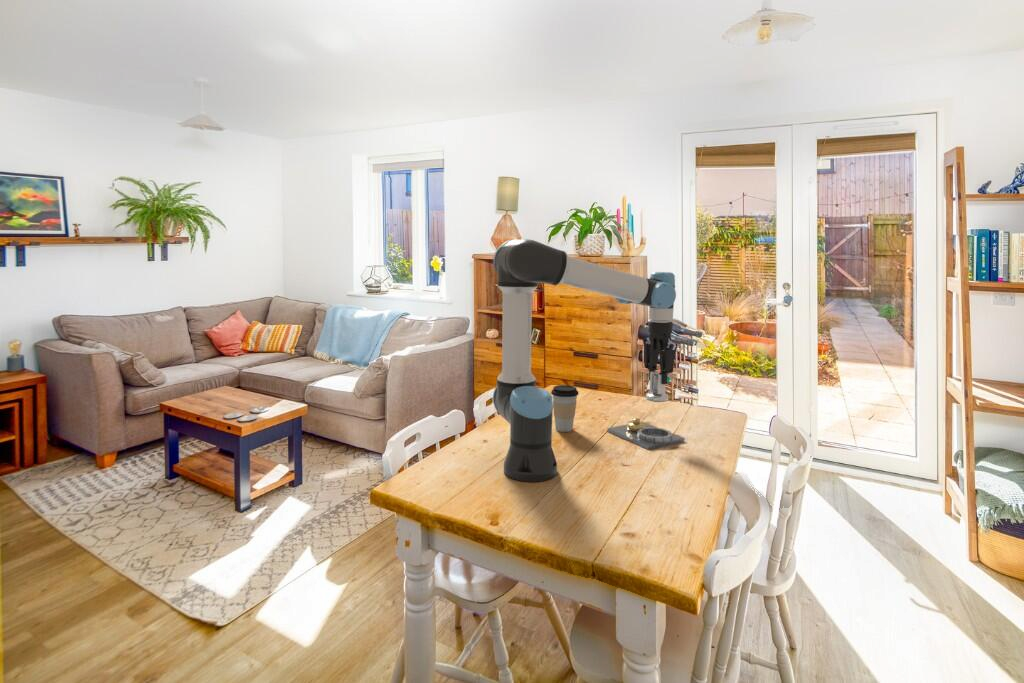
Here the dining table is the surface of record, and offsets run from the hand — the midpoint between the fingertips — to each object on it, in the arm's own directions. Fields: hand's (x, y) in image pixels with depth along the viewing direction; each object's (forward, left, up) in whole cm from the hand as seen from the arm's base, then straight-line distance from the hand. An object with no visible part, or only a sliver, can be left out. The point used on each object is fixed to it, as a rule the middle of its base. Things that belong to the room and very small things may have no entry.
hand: (657, 392), depth 185 cm
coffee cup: (-20, +24, -17) cm, 35 cm away
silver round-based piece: (0, 0, -2) cm, 2 cm away
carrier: (0, +5, -16) cm, 17 cm away
